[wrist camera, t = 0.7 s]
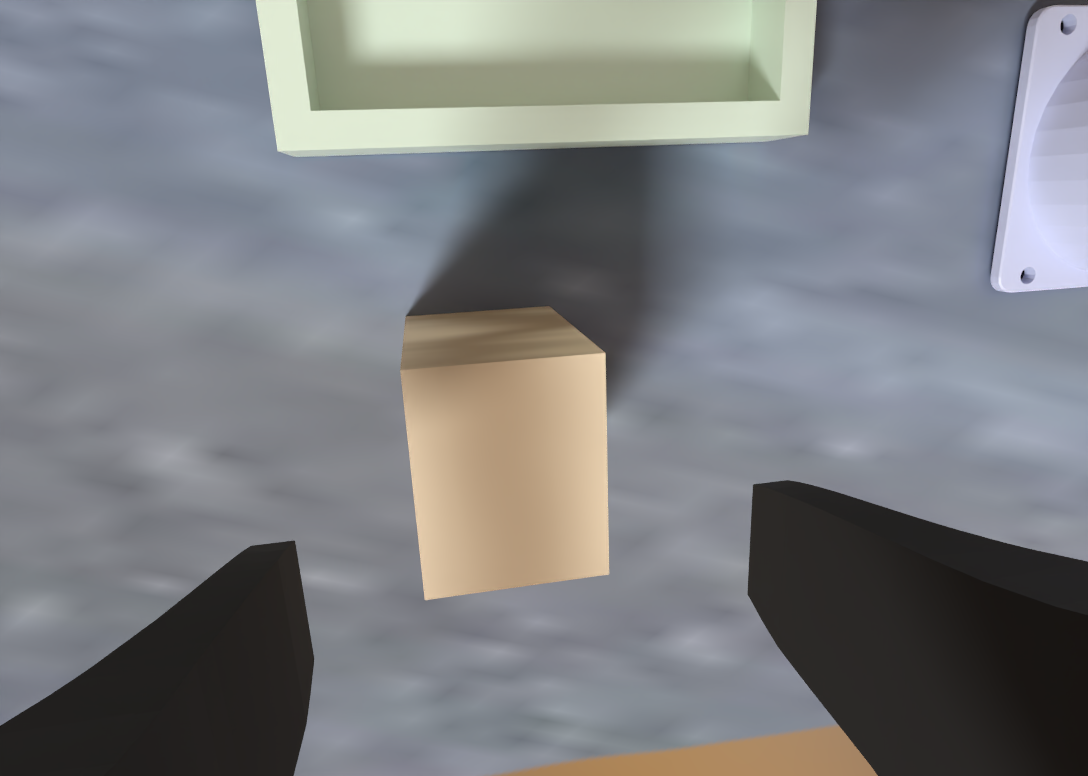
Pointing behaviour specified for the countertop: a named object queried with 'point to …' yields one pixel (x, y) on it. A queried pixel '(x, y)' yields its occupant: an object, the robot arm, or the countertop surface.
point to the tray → (534, 73)
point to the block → (505, 449)
